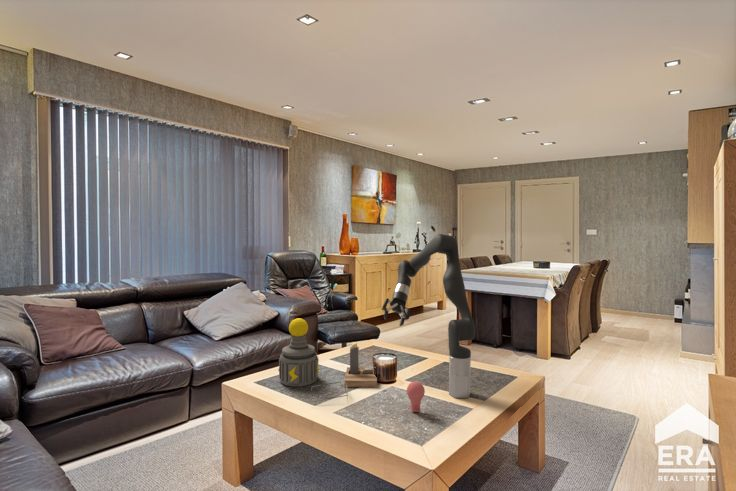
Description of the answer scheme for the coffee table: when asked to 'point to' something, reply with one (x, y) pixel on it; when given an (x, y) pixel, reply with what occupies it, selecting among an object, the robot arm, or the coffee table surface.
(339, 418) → the coffee table surface
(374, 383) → the socket board
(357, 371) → the plug
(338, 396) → the eyeglasses
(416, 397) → the light bulb
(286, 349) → the decorative lamp
